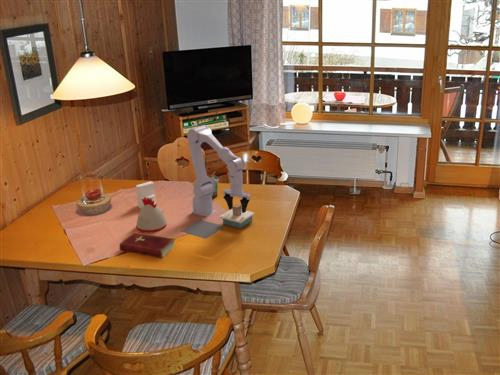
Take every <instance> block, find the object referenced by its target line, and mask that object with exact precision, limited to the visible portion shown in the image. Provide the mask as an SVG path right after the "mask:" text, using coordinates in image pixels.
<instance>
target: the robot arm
mask: <svg viewBox="0 0 500 375" xmlns="http://www.w3.org/2000/svg"><path fill="white" fill-rule="evenodd" d="M212 132H213V131H212V129H211V128H210V127H209V126H208V125H207V124H202V125H199V126H196V127H193V128H190V129H188V131H187V133H186V137H187V143H188V148H189V152H190V156H191V157H190V158H191V161H192V165H193V170H194V174H195V179H194V182H193V184H192V185H193V194H194V196H193V198H192V214H194V215H195V214H196V215H198V216H204V217H209V216H211V215H212V214H214V213H217V210H216V209H213V199H212V195H213V192H214V191H215V186H214V184H213V182H212V179H211V178H209V177H210V176H208V174H207V169H206V164H205V161H204V160H205V159H204V156H203V152H202V151H203V150H202V146H201V145H202V144H203V143H206V144H207V145H209V146H210V147H211V148H212V149H214V150H215V151H216V152H217V156H218V157H219V159H220V160H222V162H223V163H224V164H225V165H226V169H227V170H228V174H229V180H230V184H229V185H230V189H228V188H227V189H226V188H225V189H223V190H222V194H223V199H224V200H225V202H226V205H227V207H228V211H229V210H231V209H232V206H234V204H233V203H234V197H237V198H241V199H239V201H240V205H241V209H242V213H245V212H246V211H247V208H248V205H249V202H250V200H251V199H252V195H251V194H249V193H247V192H245V191H244V190H243V188H244V186H243V182H244V181H243V169H244V168H245V164H246V163H245V161H244V159H243V157H240V156H237V155H235V154H234V153H233V152H232V151H231V150H230V148H229V147H227V146H223V145H222V144H221V143H220V141H219V140H218V139H217V138H216V137H215V136H214V135H213V133H212Z"/></svg>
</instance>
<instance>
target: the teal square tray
mask: <svg viewBox="0 0 500 375" xmlns="http://www.w3.org/2000/svg"><path fill="white" fill-rule="evenodd" d="M252 222H253V216H251V217H250V218H248V219H246V220H245V221H243V222H242V223H237V222H233V221H230V220H226V219H222V225H223V226H228V227H232V228H236V229H240V230H241V229H242V228H244V227H246V226H247V225H249V224H250V223H252Z"/></svg>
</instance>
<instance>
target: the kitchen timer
mask: <svg viewBox="0 0 500 375" xmlns="http://www.w3.org/2000/svg"><path fill="white" fill-rule="evenodd" d="M142 201H143V204H144V207H143V208H142V209H140V211H139V213H138V216H137V220H136V230H137V231H138V233H142V234H146V233H155V232H159V231H162V230H164V229H165V228H166V227H167V225H168V224H167V220H166V219H167V218H166V217H165V214H164V211H163V210H162V209H161V208H160V207H159V206H158V205H157V203H156V204H154V201H152V199H151V198H150V200H149V197H148V198H147V199H146V197H144V199H142Z"/></svg>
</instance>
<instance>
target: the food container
mask: <svg viewBox="0 0 500 375" xmlns="http://www.w3.org/2000/svg"><path fill="white" fill-rule="evenodd" d="M208 177H209V178H211V179H212V182H213V184H214V186H215V191H214V192H213V195H212V200H213V199H216V198H217V197H218V191H219V190H218V189H219V188H218V185H219V184H220V181H219V180H220V179H219V177H218V176H217V175H215V174H210V175H209V176H208Z"/></svg>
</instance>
